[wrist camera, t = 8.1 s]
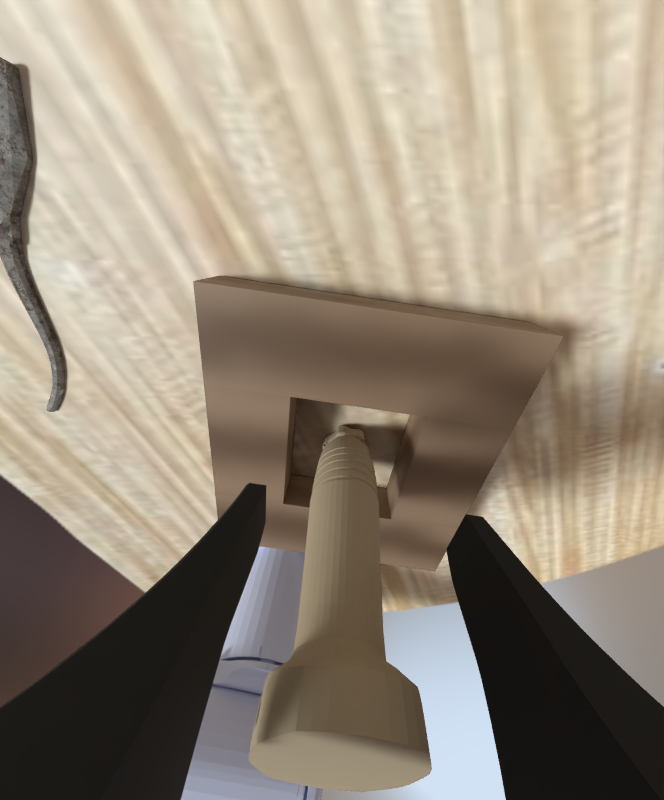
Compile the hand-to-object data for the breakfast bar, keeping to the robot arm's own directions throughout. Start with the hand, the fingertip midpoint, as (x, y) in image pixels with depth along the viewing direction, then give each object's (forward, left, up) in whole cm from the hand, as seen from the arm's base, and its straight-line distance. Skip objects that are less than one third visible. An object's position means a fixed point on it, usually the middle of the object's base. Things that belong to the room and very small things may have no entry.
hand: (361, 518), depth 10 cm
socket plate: (-4, 0, -10) cm, 11 cm away
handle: (-4, 0, -10) cm, 11 cm away
